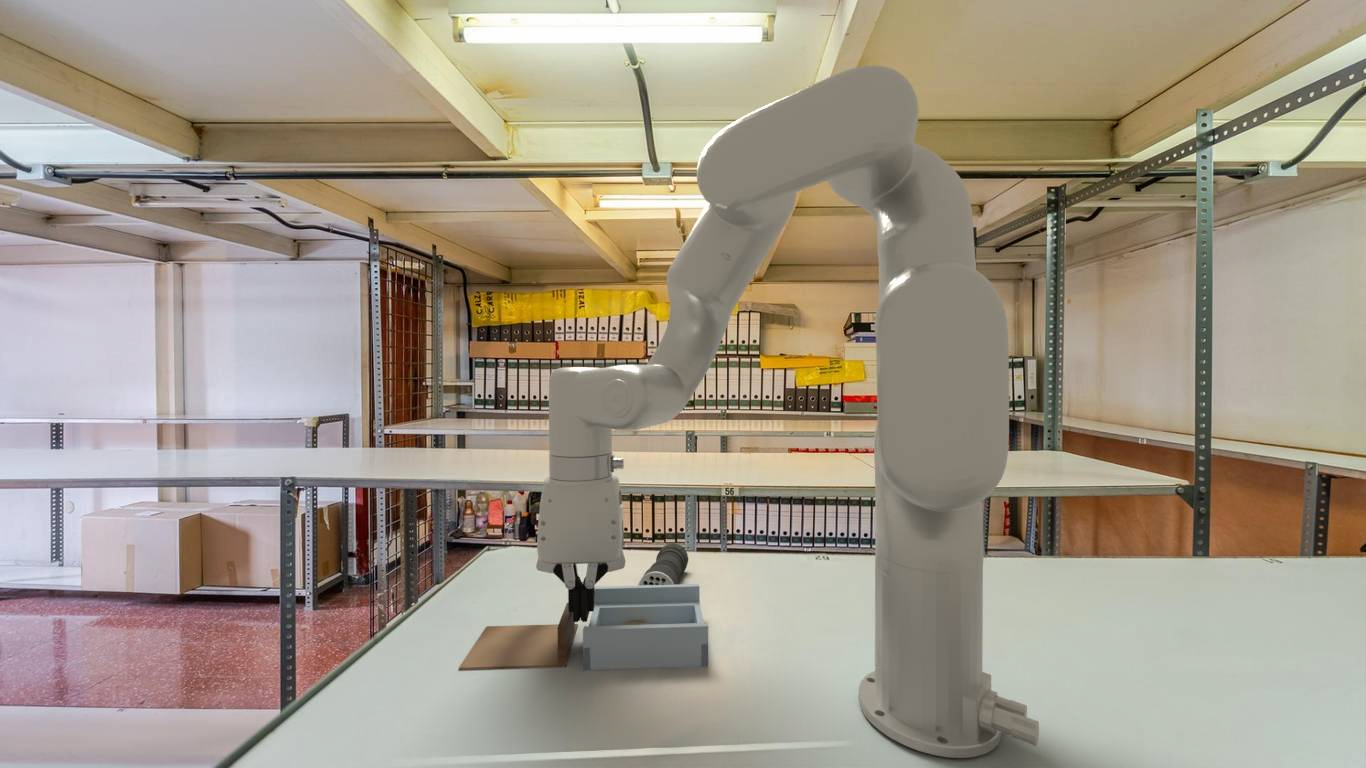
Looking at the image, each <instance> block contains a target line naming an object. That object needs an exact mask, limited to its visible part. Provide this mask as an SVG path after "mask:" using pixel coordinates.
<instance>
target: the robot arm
mask: <svg viewBox="0 0 1366 768" xmlns="http://www.w3.org/2000/svg"><path fill="white" fill-rule="evenodd" d="M918 122H919V103H918V97H917V94H916V92H915V90H914V87H913V85H912V84H911V82H910V81H909V80H908V79H907V77H905V76H904V75H903V74H902V73H900V72H899V71H898V70H897V69H893V68H892V67H888V66H882V65H877V64H875V65H873V64H872V65H861V66H857V67H853V68H849V69H847V70H843V71H840V72H838V73H836V74H834V75H831V76H829V77H826V78H824V79H822V80H820V81H818V82H815V83H813V84H811V85H808V86H807V87H804V88H802V89H799V90H798V91H796V92H794V93H791V94H789V95H787V96H785V97H782V98H780V99H777V100H776V101H773V102H771V103H769V104H767V105H765V106H762V107H760V108H758V109H756V110H754V111H752V112H750V113H748V114H746V115H744V116H742V117H740V118H739V119H737V120H735V121H733V122H732V123H731V124H729V125H726V126H725V127H724V128H722V129H721V130H720V131H719V132H718V133H716V134H715V135H714V136H713V137H712V139H710V141H709V142H708V143H707V144H706V145H705V147H704V148H703V150H702V152H701V154H700V157H699V158H698V160H697V161H698V162H697V167H696V182H697V186H698V189H699V192H700V193H701V195H702V197H703V199H704V200H705V201H706V204H705V206H704V207H703V209H702V210H701V213H700V215H699V217H698V218H697V220H696V222H695V223H694V225H693V226H692V228H691V230H690V232H689V234H688V235H687V237H686V239H685V241H684V242H683V244H682V245H681V247H680V249H679V250H678V253H677V254H676V256H675V257H674V259H673V261H672V263H671V264H670V266H669V267H668V270H667V273H666V287H667V293H668V300H669V317H668V322H667V325H666V328H665V331H664V334H663V336H662V338H661V339H660V342H659V344H658V346H657V347H656V349H655V350H654V353H653V354H652V356H651V357H650V359H649V360H648V362H647V364H619V365H612V366H607V367H591V366H589V367H587V366H586V367H585V366H571V367H570V366H569V367H567V366H566V367H564V366H563V367H559V368H556V369H554V370H553V371H552V372H551V373H550V375H549V379H548V431H549V432H548V443H549V444H548V446H549V447H548V448H549V450H548V453H549V455H548V456H549V457H548V461H549V463H548V465H549V466H548V467H549V476H548V477H547V478H546V477H545V479H544V481H543V485H542V490H541V495H540V502H539V510H538V511H539V512H538V522H537V538H536V539H537V542H536V543H537V544H536V545H537V546H536V547H537V549H536V550H537V551H536V552H537V557H538V558H537V562H536V567H535V569H536V570H537V571H538V572H544V573H548V574H554V575H555V576H556V577H557V578H558V579H559V580H560V581H561V583H563V584H564V586H565V588H566V589H567V591H568V592H567V593H568V596H567V597H568V598H567V599H568V600H567V601H568V602H567V603H568V611H569V612H573V622H575V623H578V622H582V623H587V622H588V618H589V615H590V612H593V611H594V605H595V587H596V585H597V583H598V582H599V581H600V580H601V579H603V577H604V576H605V575H606V574H607V573H611V572H616V571H619V570H622V569H623V570H624V568H625V567H626V559H625V555H624V549H623V548H624V541H625V540H624V537H625V536H624V531H625V530H624V514H623V513H624V512H623V511H624V510H623V499H622V498H623V497H622V491H621V486H620V480H619V477H618V476H616V475H613V473H614V472H615V471H618V470H623V469H624V465H625V464H624V463H625V462H624V461H625V460H624V458H623V457H618V456H615V454H613V451H612V450H613V446H612V445H613V443H612V442H613V441H612V440H613V439H612V438H613V436H612V435H613V433H612V432H613V430H616V431H624V432H625V431H627V432H628V431H629V432H632V431H638V430H641V429H646V428H649V427H653V426H657V425H662V424H665V423H668V422H670V421H672V420H673V419H675V418H676V417H677V416H678V415H679V414H680V413H682V411H683V410H684V409H685V407H686V406H687V404H688V403H689V401H690V400H691V398H692V396H693V395H694V393H695V392H696V390H697V389H698V387H699V386H700V384H701V383H702V382H703V381H702V380H703V379H704V377H705V376H706V374H707V373H708V371H709V369H710V367H711V365H712V363H713V361H714V359H715V357H716V354H717V352H718V350H719V347H720V346H721V342H722V340H723V337H724V335H725V332H726V330H727V328H728V325H729V322H730V319H731V315H732V313H733V311H734V310H735V307H736V306H737V304H738V302H739V301H740V299H741V297H742V296H743V294H744V293H745V292H746V291H745V290H746V289H747V287H748V286H749V284H750V283H751V281H752V279H753V278H754V276H755V275H756V273H757V271H758V269H759V268H760V266H761V265H762V263H763V261H764V260H765V259H766V257H767V255H768V254H769V252H770V250H771V249H772V247H773V246H774V244H775V242H776V240H778V237H779V236H780V234H781V232H782V231H783V229H784V228H785V226H786V224H787V223H788V221H789V219H790V217H791V215H792V213H793V210H794V209H795V205H796V201H797V200H796V199H797V192H800V191H802V190H805V189H808V188H811V187H813V186H816V185H819V184H821V183H825V182H826V181H827V182H828V185H829V187H830V188H831V189H832V190H833V192H834V193H835V194H836V195H838V197H840V198H841V199H843V200H845V201H847V202H849V203H851V204H853V205H855V206H858V207H860V208H861V209H863V210H864V211H866V212H867V213H868V215H870V216H871V218H872V220H873V221H874V224H875V228H876V237H877V238H876V239H877V240H876V241H877V242H876V243H877V258H878V306H877V308H876V312H875V319H874V335H875V343H876V346H875V348H876V350H875V351H876V400H877V401H876V403H877V404H876V407H877V408H876V411H877V414H876V415H877V417H876V419H877V421H876V422H877V423H876V427H875V431H874V439H873V442H874V443H873V455H874V458H873V459H874V486H875V487H874V488H875V489H874V491H875V493H874V494H875V495H874V496H875V500H874V501H875V507H874V508H875V514H874V515H875V529H874V530H875V531H874V532H875V539H874V540H875V541H874V543H875V544H874V545H875V548H874V549H875V551H874V671H870V673H869V674H867V675H865V676H864V677H863V679H861V681H860V684H859V685H858V703H859V707H860V710H861V711H862V713H863V715H864V716H865V717H866V719H867V720H868V721H869V722H870V723H871V724H872V725H873V726H874V727H875V728H876V729H877V730H879V732H881V733H882V734H884V735H885V736H887V737H888V738H890V739H891V740H894V741H895V742H897V743H899V744H901V745H903V746H905V747H907V748H910V749H913V750H915V751H917V752H921V753H925V754H928V755H933V756H936V757H937V756H938V757H943V758H950V759H951V758H952V759H954V758H955V759H966V758H968V759H969V758H975V757H979V756H982V755H983V756H984V755H985V754H988V753H989V752H991V751H993V750H995V748H997V746H998V745H999V744H1000V741H1001V738H1002V733H1003V734H1006V735H1010V736H1011V738H1014V739H1016V740H1019V741H1022V742H1024V743H1026V744H1028V745H1031V746H1034V747H1037V746H1038V743H1039V735H1040V723H1039V721H1038V720H1036V719H1033V718H1030V717H1028V706H1027V704H1025V703H1024V704H1023V703H1021V702H1019V701H1016V700H1013V699H1007V698H1005V697H1002V696H1000V695H998V692H997V691H994V690H992V674H990V673H987V672H984V671H983V647H984V646H983V637H984V635H983V631H984V629H983V627H984V626H983V624H984V623H983V622H984V621H983V619H984V618H983V617H984V616H983V615H984V613H983V612H984V611H983V609H984V608H983V607H984V601H983V598H984V597H983V595H984V594H983V593H984V588H983V587H984V586H983V585H984V523H983V522H984V520H983V519H984V518H983V516H984V515H983V503H982V501H984V500H985V499H987V498H988V497H989V496H990V495H991V494H992V492H994V491H995V489H996V488H997V486H998V485H999V484H1000V482H1001V480H1002V478H1003V476H1004V474H1005V471H1006V470H1005V469H1006V466H1007V463H1008V457H1009V447H1010V446H1009V445H1010V444H1009V440H1010V435H1009V434H1010V375H1009V374H1010V371H1009V370H1010V369H1009V368H1010V367H1009V365H1010V364H1009V357H1010V355H1009V353H1010V352H1009V349H1010V348H1009V328H1008V319H1007V315H1006V310H1005V306H1004V303H1003V301H1002V299H1001V296H1000V294H999V292H998V290H997V289H996V287H995V286H994V284H993V283H992V282H991V281H990V280H989V279H988V278H987V277H986V276H985V275H984V274H982V273H981V272H979V271H978V270H976V252H975V251H976V250H975V237H974V220H973V218H974V217H973V209H972V204H971V199H970V195H969V193H968V190H967V187H966V185H965V183H964V181H963V179H962V178H961V177H960V175H959V174H958V173H957V172H956V171H955V170H954V168H953V167H952V166H951V165H950V164H949V163H948V162H946V161H945V160H944V159H943V158H941V157H940V156H939V155H938V154H937V153H935V152H933V151H932V150H931V149H930V150H929V149H928V148H926V147H925V146H921V145H920V144H918V143H915V137H916V134H917V133H916V132H917V129H918V124H919V123H918ZM579 564H580V565H581V564H584V565H586V564H587V566H586V574H585V577H584V579H583V581H582V579H581V577H580V575H579V572H578V566H577V565H579Z"/></svg>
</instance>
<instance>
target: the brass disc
mask: <svg viewBox="0 0 1366 768" xmlns="http://www.w3.org/2000/svg"><path fill="white" fill-rule="evenodd" d="M622 625H650V624H649V623H647V622H643V621H631V622H627V623H624V624H622Z"/></svg>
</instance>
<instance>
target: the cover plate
mask: <svg viewBox="0 0 1366 768" xmlns="http://www.w3.org/2000/svg"><path fill="white" fill-rule="evenodd" d="M578 627H579V624H578V623H576V622H573V612H569V611H568V602H566V605H565V607H564V610H563V613H562V615H561V617H560V620H559V622H558V624H556V623H555V624H527V625H525V624H524V625H523V624H522V625H519V624H518V625H490V626H489V625H487V626H485V628H484V629H483V631H482V632H481V633H480V635H479V636H478V638H477V639H476V641H475V642H474V644H473V646H472V648H470V650H469V652H468V653H467V654H466V656H465V658H464V659H463V661H462V662H461V663H460V665H459V667H458V671H472V670H473V671H474V670H475V671H476V670H477V671H478V670H479V671H480V670H505V669H507V670H509V669H528V668H529V669H532V668H533V669H537V668H541V669H542V668H565V667H566V665H567V662H568V660H569V656H570V653H571V650H572V646H573V643H574V641H575V640H574V639H575V637H576V634H577V631H578Z"/></svg>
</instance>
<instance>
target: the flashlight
mask: <svg viewBox="0 0 1366 768" xmlns="http://www.w3.org/2000/svg"><path fill="white" fill-rule="evenodd" d="M688 563H689V556H688V552H687V550H686V549H685V548H684V547H683V546H682V545H680V544H679V543H673V542H672V543H667V544H665V545H664V546H662V547H661V549H660V550H659V552H658V553H657V555H656V558H655V562H654V563H652V565H651V566H650V567H649V568H648V569H647V570H646V571H645V573H644V574H643V576H642V577H641V578H640V581H639V582H638V585H678V584H679V583H680V579H681V577H680V576H681V575H682V574H684V572H685V571H686V569H687V566H688Z"/></svg>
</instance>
